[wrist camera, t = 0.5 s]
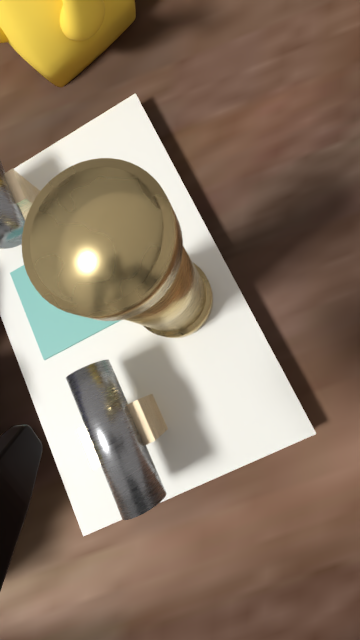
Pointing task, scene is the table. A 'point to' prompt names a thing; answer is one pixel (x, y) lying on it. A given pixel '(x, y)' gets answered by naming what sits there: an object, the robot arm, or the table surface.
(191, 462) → the board
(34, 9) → the teapot
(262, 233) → the table surface
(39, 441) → the robot arm
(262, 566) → the table surface
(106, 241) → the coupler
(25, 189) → the shafts
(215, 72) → the table surface
